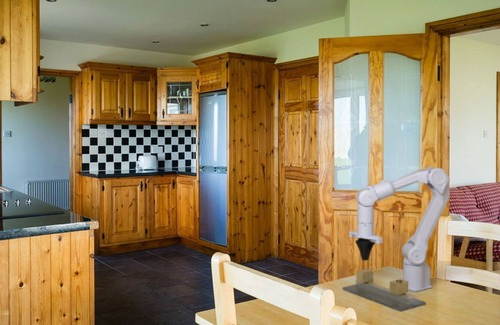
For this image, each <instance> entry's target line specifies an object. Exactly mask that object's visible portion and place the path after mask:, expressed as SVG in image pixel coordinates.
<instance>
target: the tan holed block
mask: <svg viewBox="0 0 500 325" xmlns="http://www.w3.org/2000/svg"><path fill="white" fill-rule="evenodd" d="M389 289H390V293H393V294H396V295H400V294H406V295H407V293H409V290H408V281H405V280H403V278H402V279H400V278H399V279H394V280H391V281H390V280H389Z"/></svg>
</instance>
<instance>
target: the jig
mask: <svg viewBox="0 0 500 325" xmlns="http://www.w3.org/2000/svg"><path fill="white" fill-rule="evenodd" d="M355 279H356V280H355V284H352V285H348V286H347V285H346V286H343V287H342V291H345V292H348V293H350V294H353V295H356V296H359V297H360V298H364V299H366V300H369V301H371V302H374V303H376V304H380V305H382V306H384V307H387V308H390V309H393V310H396V311H398V312H404V311H407V310H410V309H415V308H419V307H423V306H426V301H423V300H421V299H419V298H415V297H414V296H411V295H408V294H407V293H406V294H400V295H396V294H393V293H390V288H388V287H385V286H382V285H379V284H376V283H374V270H372V269H369V268H364V269H359V270H356V273H355Z"/></svg>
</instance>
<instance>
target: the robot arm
mask: <svg viewBox="0 0 500 325" xmlns="http://www.w3.org/2000/svg"><path fill="white" fill-rule="evenodd" d="M449 182H450V176H449V175H448V174H447V172H446V171H445V170H444V169H443V168H440V167H434V166H428V167H427V166H426V167H425V168H421V169H418V170H415V171H413V172H411V173H407V174H406V175H404V176H401V177H400V178H397V179H395V180H393V181H390V180H388V179H386V180H384V179H382V180H379V182H378V183H376V184H374V185H372V186H371V185H368V186H367V188H362V189H359V190H358V192H357V193H356V196H355V199H356V202H357V210H356V211H357V213H356V214H357V215H356V216H357V218H356V219H357V220H356V222H357V224H356V227H357V228H356V231H353V230H352V231H351V230H350V231H348V233H349V235H348V236H349V238H355V239H357V240H355V244H356V246H357V249H358V250H359V253H360V254H359V255H360V257H361V260H362V261H364V262H365V261H369V259H370V256H371V252H372V249H373V247H374V246H375V244H378V245H379V244H383V237H382V236H378V235H376V234H375V232H374V228H375V227H374V222H375V221H374V219H375V218H374V217H375V215H374V214H375V211H374V204H375V202H379V201H381V200H384V199H387V198H389V197H391V196H394V194H395V192H396V191H397V190H400V189H402V188H405V187H408V186H411V185H414V184H416V183H419V184H426V185H427V186H428V187H429V190H430V192H431V193H432V196H431V198H430V201H429V203H428V205H427V207H426V209H425V211H424V213H423V214H422V217H421V220H420V221H419V224H418V226H417V227H416V229H415V231H414V234H413V235H411V236H410V237H409V239H408V240H407V242H406V243H405V244H404V245H402V248H401V252H402V253H401V254H402V256H404V258H403V261H402V262H403V264H402V268H403V269H402V274H403V275H402V280H405V281H408V291H411V292H414V293H415V292H419V291H424V290H428V289H432V288H433V285H431V267H430V265H429V264H428V263H427V261H426V259H427V252H428V249H429V240H430V238H431V237H432V233H433V232H434V230H435V228H436V226H437V223H438V222H439V220H440V218H441V215H442V213H443V211H444V209H445V208H446V205H447V203H448V201H449V199H450V197H451V195H450V194H451V192H450V184H449Z"/></svg>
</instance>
